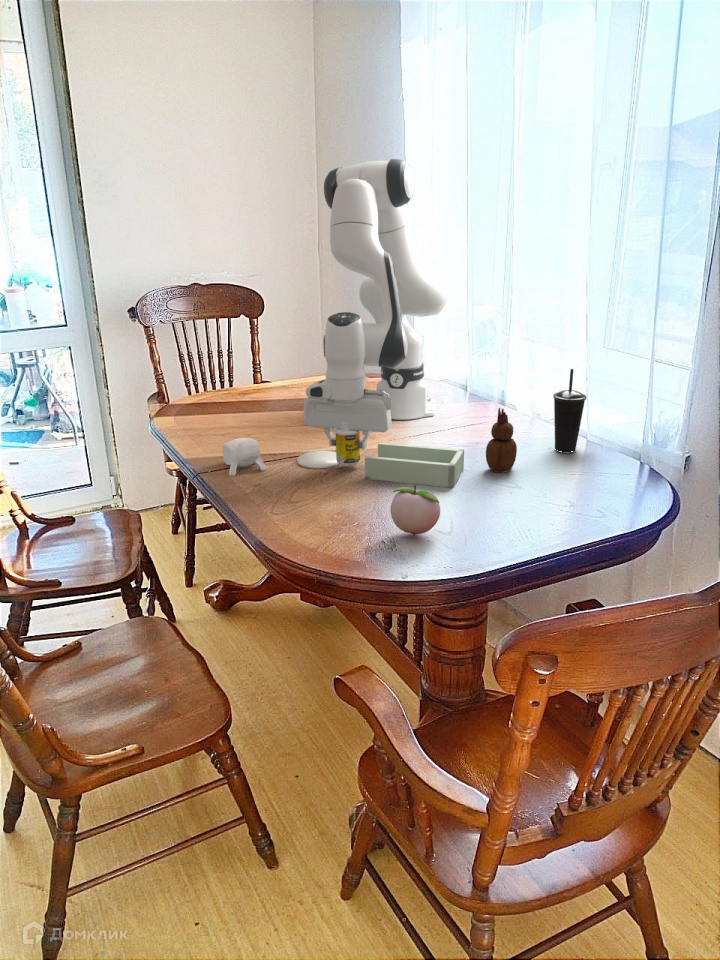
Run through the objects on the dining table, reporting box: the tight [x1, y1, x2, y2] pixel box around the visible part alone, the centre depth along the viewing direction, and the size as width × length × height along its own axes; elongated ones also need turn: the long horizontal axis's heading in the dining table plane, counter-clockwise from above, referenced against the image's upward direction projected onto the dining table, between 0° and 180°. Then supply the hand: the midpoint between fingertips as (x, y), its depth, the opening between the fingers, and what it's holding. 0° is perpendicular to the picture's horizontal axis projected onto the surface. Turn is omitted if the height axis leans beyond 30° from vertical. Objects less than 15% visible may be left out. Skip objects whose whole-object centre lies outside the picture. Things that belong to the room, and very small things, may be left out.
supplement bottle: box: [335, 422, 361, 467], centre depth 168 cm, size 6×6×10 cm
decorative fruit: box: [390, 484, 441, 536], centre depth 134 cm, size 9×8×10 cm
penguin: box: [222, 437, 267, 477], centre depth 169 cm, size 9×8×15 cm
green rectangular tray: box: [364, 442, 465, 489], centre depth 164 cm, size 11×20×5 cm, turn 71°
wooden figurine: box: [485, 407, 518, 473], centre depth 164 cm, size 7×6×15 cm
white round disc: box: [297, 450, 341, 470], centre depth 175 cm, size 11×11×1 cm
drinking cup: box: [552, 368, 587, 452], centre depth 175 cm, size 8×8×20 cm
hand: (348, 446), depth 168 cm, fingers closed on supplement bottle, 5 cm apart
